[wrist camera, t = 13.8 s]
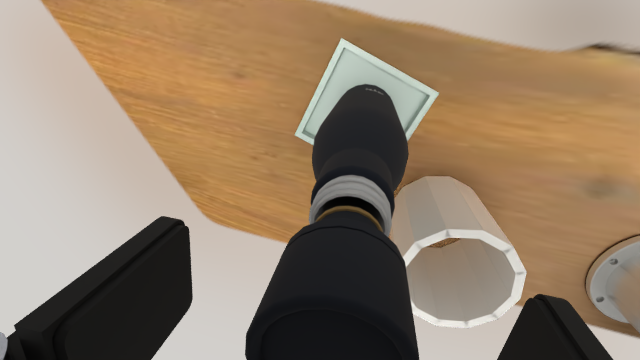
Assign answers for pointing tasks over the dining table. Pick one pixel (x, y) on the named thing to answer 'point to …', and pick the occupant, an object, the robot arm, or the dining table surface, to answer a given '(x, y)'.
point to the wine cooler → (454, 254)
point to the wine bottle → (344, 248)
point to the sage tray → (365, 68)
